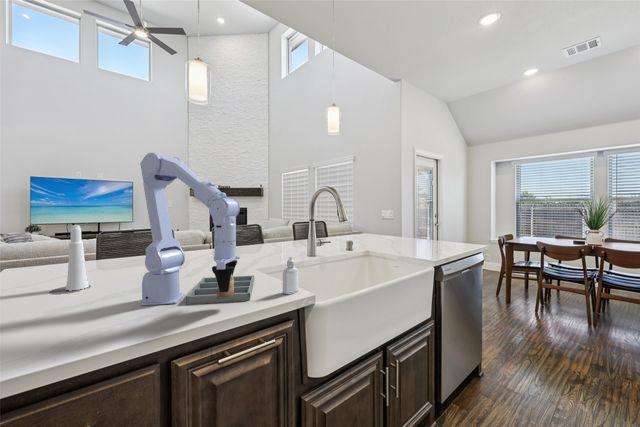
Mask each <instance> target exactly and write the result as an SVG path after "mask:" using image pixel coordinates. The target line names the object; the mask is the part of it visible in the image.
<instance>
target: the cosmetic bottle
mask: <svg viewBox="0 0 640 427" xmlns="http://www.w3.org/2000/svg"><path fill="white" fill-rule="evenodd" d="M69 230H70V242H69V243H68V260H67V262H68V265H67V266H68V267H67V279H66V285H65V291H66V290H69V291H68V292H72V290H76V291H81V290H80V289H82V290H85V289H87V287H88V288H89V282H88V277H87V270H86V260H85V258H86V257H85V248H84V242H83V241H82V227H81V225H77V224H75V225H71V228H70V229H69ZM84 288H85V289H84Z"/></svg>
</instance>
